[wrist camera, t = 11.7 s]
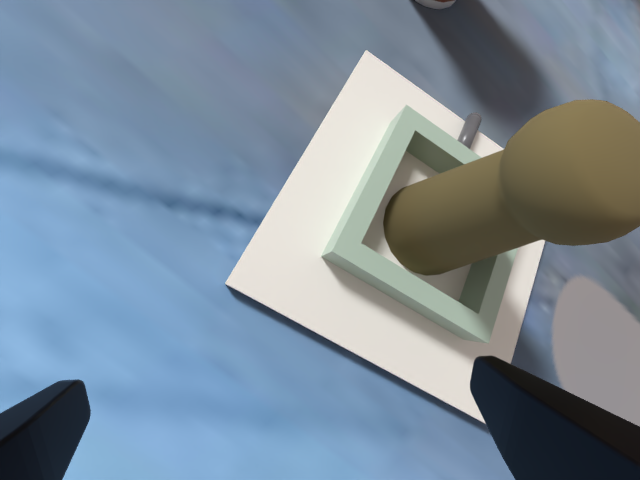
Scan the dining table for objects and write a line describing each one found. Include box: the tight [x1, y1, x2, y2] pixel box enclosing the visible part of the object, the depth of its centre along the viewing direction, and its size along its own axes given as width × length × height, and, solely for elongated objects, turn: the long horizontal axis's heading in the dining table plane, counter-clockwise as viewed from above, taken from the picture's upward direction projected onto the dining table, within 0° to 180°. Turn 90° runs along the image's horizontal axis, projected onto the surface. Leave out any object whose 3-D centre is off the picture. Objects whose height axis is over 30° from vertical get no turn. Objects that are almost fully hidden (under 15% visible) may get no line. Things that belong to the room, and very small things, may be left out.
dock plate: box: [225, 50, 545, 424], centre depth 20 cm, size 18×18×3 cm
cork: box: [383, 100, 640, 276], centre depth 15 cm, size 6×6×11 cm
